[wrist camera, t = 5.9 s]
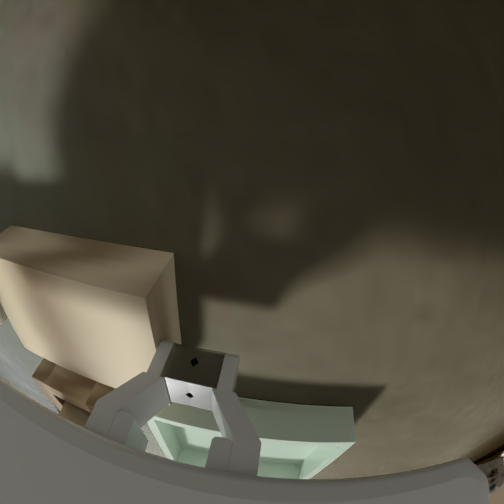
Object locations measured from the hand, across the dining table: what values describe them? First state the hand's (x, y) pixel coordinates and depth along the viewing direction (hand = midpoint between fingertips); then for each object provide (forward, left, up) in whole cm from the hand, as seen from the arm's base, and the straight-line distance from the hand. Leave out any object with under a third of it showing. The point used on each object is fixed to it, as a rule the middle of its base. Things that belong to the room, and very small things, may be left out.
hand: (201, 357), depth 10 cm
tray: (-2, +12, -2) cm, 12 cm away
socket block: (+11, +12, -2) cm, 16 cm away
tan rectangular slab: (+7, 0, -2) cm, 7 cm away
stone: (-53, +37, -2) cm, 64 cm away
